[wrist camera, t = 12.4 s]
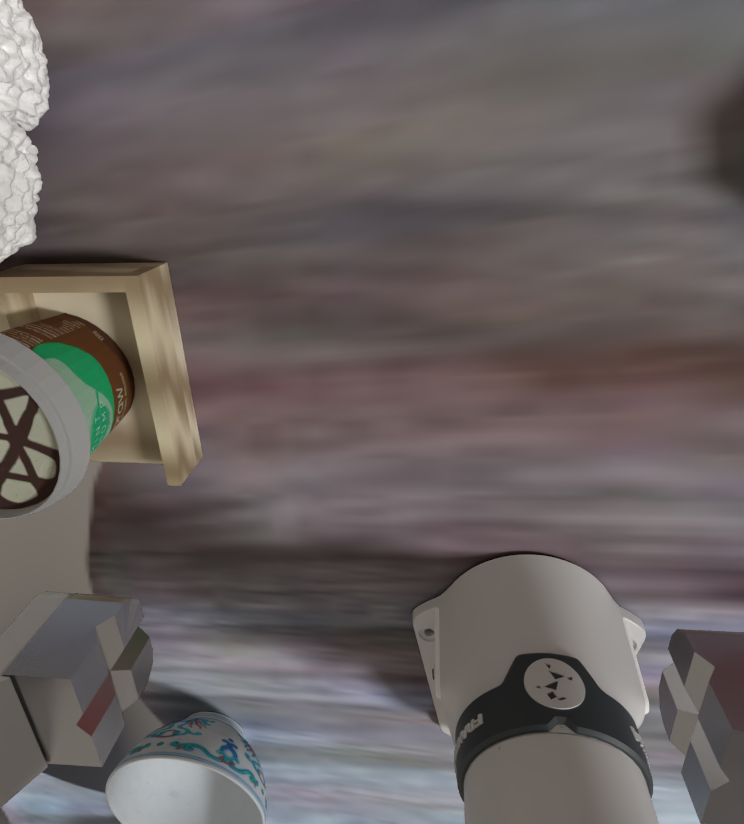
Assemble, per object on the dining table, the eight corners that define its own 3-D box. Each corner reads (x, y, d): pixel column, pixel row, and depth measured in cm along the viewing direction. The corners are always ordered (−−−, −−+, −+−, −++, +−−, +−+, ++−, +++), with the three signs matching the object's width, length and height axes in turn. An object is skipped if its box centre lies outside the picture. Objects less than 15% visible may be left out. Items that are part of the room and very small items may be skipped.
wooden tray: (202, 456, 45) (180, 485, 42) (77, 453, 47) (45, 481, 43) (167, 262, 39) (137, 275, 35) (23, 264, 40) (-21, 277, 36)
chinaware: (289, 697, 56) (268, 776, 49) (281, 790, 63) (261, 871, 56) (140, 669, 57) (98, 743, 50) (147, 764, 64) (111, 841, 57)
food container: (150, 463, 45) (76, 545, 36) (73, 446, 45) (-20, 524, 36) (151, 309, 39) (64, 361, 30) (63, 291, 39) (-49, 337, 30)
